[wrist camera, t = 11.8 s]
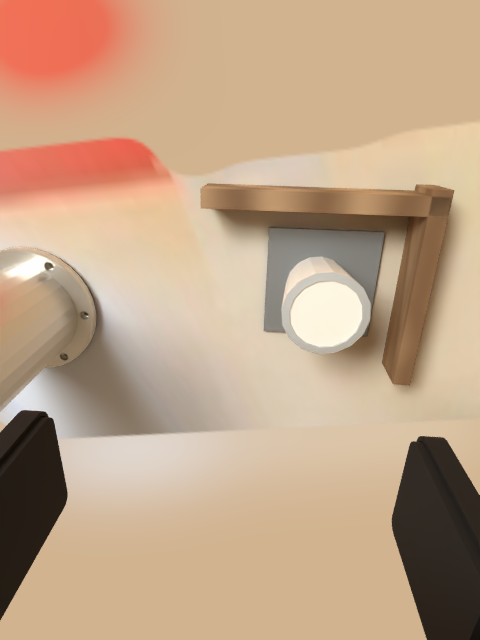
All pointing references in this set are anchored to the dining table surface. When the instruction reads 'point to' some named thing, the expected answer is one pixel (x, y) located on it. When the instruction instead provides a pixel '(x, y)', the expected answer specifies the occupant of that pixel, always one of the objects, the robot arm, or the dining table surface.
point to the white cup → (324, 306)
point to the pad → (299, 244)
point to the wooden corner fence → (421, 205)
